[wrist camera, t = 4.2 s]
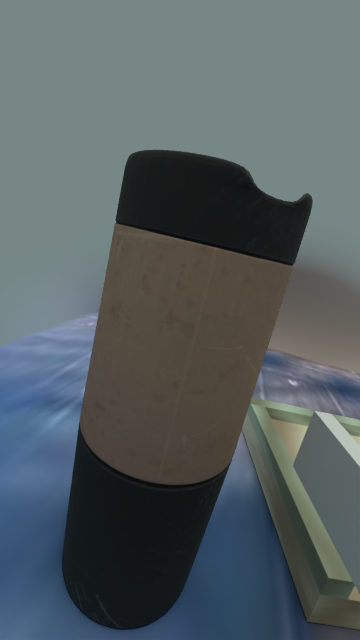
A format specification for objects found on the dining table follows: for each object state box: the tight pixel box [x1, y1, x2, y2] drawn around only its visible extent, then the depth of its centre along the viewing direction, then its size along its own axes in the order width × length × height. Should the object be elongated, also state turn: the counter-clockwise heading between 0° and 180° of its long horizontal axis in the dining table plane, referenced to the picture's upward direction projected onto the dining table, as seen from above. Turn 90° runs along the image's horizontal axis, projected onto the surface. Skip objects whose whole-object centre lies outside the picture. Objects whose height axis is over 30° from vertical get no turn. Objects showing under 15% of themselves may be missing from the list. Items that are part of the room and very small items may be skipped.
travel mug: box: [62, 150, 312, 629], centre depth 15 cm, size 8×8×20 cm
